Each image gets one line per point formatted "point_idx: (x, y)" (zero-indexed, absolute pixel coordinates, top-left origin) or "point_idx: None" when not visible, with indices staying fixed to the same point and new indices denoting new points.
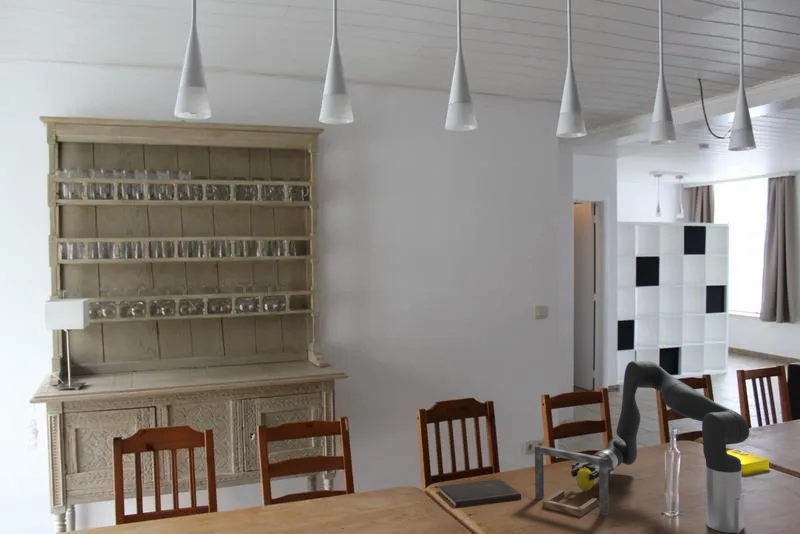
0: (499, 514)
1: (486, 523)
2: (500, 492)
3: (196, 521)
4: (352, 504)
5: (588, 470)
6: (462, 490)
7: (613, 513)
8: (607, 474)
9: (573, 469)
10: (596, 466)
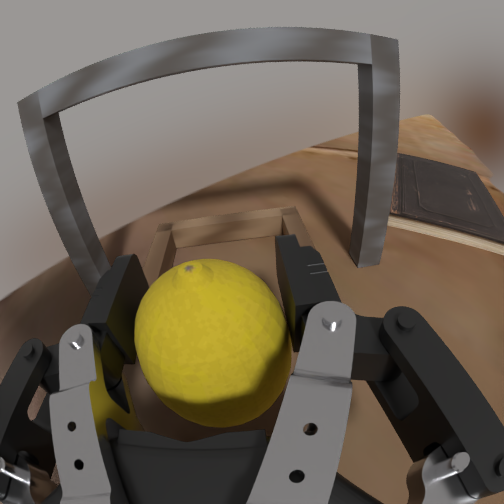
0: (324, 171)
1: (305, 155)
2: (416, 194)
3: (426, 118)
4: (438, 140)
5: (153, 289)
6: (446, 173)
7: (80, 310)
8: (36, 162)
9: (295, 243)
10: (78, 403)
